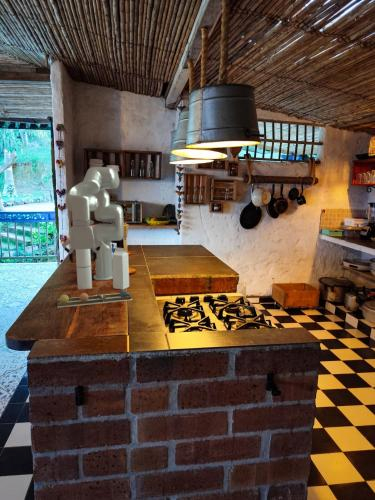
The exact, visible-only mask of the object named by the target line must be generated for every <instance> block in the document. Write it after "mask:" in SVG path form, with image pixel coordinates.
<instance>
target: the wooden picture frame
mask: <svg viewBox="0 0 375 500" xmlns="http://www.w3.org/2000/svg"><path fill="white" fill-rule="evenodd" d="M98 295H99V296H95V295H88V296H89V297H88V299H98V298H100V299H98V300H87V301H78V300H80V299H79V297H80V296H77V297H78V298H74V297H69V301H77V302H67V303H59V302H60V298H57V302H56V306H57V307H58V306H68V305H78V304H88V303H98V302H103V298H102V295H103V294H98ZM98 304H99V303H98ZM88 305H89V304H88Z"/></svg>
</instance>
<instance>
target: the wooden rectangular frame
mask: <svg viewBox="0 0 375 500" xmlns="http://www.w3.org/2000/svg"><path fill="white" fill-rule="evenodd" d="M109 294H110V295H103V294H102V295H103V298H104V301H105V302H108V301H118V300H128V299H131V298H132V295H131V293H130V292H128V297H119V296H120V295H119V294H117V293H109ZM109 297H118V298H109ZM106 298H108V299H106ZM128 301H129V300H128ZM118 302H119V301H118ZM108 303H109V302H108Z"/></svg>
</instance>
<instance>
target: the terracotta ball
mask: <svg viewBox="0 0 375 500" xmlns="http://www.w3.org/2000/svg"><path fill="white" fill-rule="evenodd" d="M88 296H89V295H88V293H85V292H81V293H80V294H79V296H78V297H79V299H80V300H81V301H87V300H88Z"/></svg>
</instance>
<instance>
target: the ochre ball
mask: <svg viewBox="0 0 375 500" xmlns="http://www.w3.org/2000/svg"><path fill="white" fill-rule="evenodd" d="M69 298H70V297H69V296H68V295H67V294H62V295H60V296H59V299H60V302H61V303H67V302H68V301H69Z"/></svg>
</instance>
